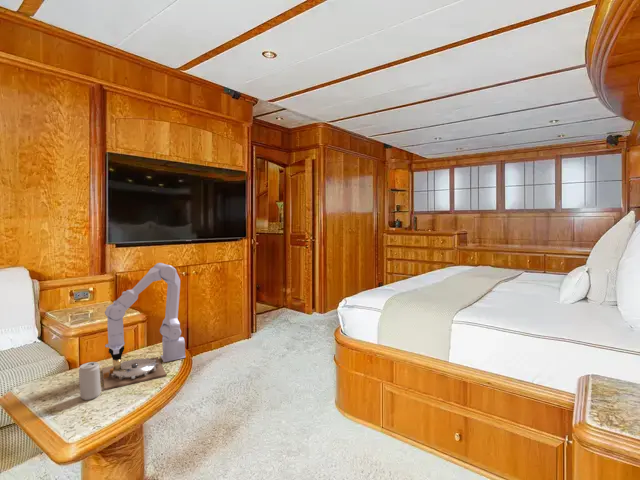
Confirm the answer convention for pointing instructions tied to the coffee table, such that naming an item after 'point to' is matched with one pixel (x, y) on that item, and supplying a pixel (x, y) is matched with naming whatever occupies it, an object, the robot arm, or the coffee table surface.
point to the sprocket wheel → (132, 368)
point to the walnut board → (116, 382)
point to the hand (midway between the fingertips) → (117, 364)
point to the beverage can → (89, 380)
